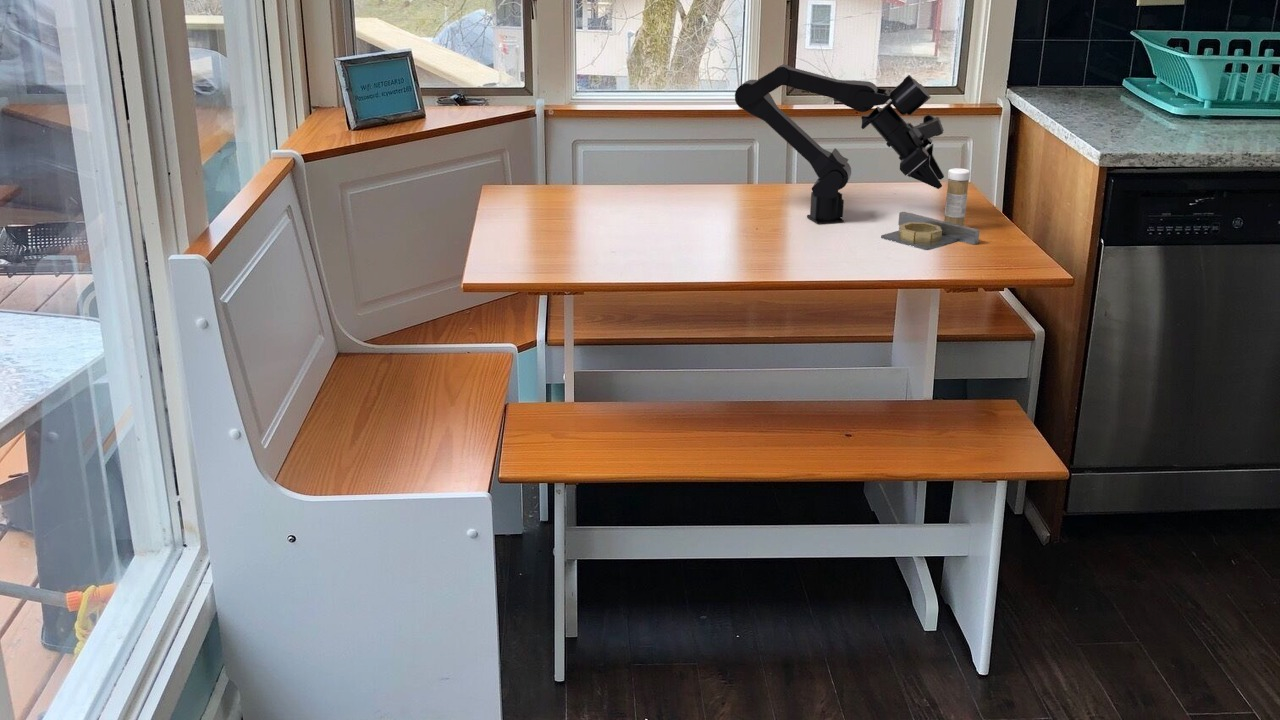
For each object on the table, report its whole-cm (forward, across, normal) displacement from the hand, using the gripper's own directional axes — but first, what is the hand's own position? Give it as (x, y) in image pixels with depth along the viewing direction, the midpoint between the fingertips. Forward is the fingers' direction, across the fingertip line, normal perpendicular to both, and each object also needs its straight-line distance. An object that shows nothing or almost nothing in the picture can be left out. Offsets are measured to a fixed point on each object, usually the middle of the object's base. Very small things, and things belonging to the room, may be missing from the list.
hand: (941, 182), depth 264 cm
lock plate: (+5, -10, +10) cm, 15 cm away
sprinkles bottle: (+10, 0, +5) cm, 11 cm away
